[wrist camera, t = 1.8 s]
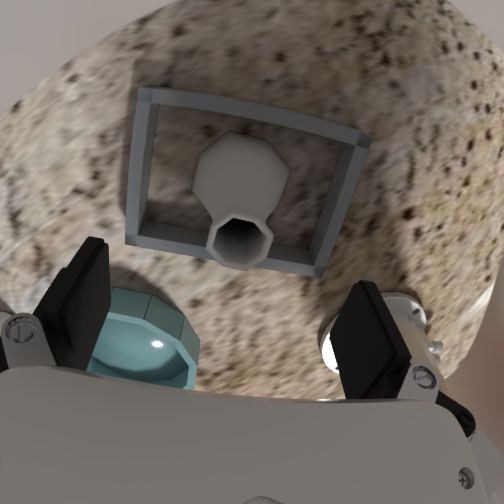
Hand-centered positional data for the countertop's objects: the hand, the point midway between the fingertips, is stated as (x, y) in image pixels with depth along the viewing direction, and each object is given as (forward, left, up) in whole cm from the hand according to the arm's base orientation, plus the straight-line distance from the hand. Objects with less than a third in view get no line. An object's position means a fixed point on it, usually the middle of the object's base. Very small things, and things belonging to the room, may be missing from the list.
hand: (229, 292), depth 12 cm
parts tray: (0, 0, -14) cm, 14 cm away
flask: (0, 0, -15) cm, 15 cm away
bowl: (+8, +20, -14) cm, 26 cm away
